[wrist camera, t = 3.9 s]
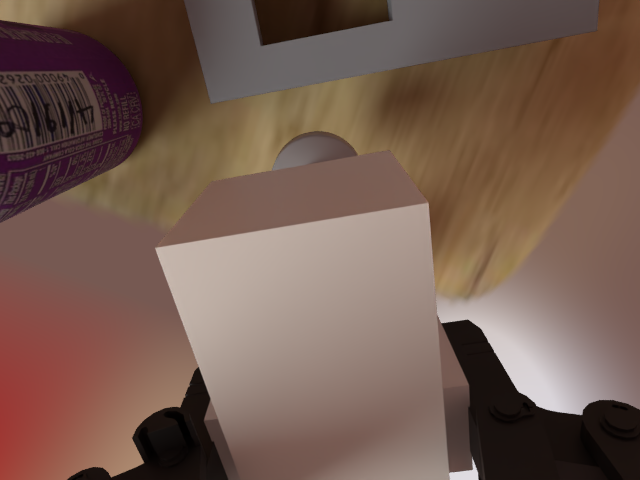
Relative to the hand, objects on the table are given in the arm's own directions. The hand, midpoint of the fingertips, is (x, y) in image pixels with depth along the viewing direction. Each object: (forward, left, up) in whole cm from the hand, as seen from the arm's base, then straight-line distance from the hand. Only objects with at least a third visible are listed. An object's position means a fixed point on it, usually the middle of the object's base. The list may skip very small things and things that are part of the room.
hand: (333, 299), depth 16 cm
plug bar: (0, 0, -5) cm, 5 cm away
